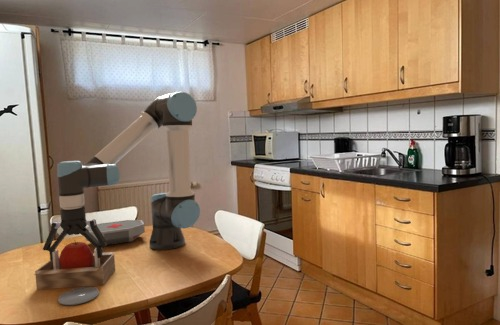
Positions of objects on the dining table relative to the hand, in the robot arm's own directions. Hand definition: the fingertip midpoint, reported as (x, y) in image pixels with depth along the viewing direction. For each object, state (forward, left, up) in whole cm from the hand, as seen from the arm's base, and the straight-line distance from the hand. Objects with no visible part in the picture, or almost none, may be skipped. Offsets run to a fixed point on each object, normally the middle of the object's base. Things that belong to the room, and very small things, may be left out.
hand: (77, 268), depth 124 cm
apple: (0, 0, -4) cm, 4 cm away
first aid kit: (0, -44, -4) cm, 44 cm away
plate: (-6, +15, -4) cm, 17 cm away
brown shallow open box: (0, 0, -4) cm, 4 cm away
